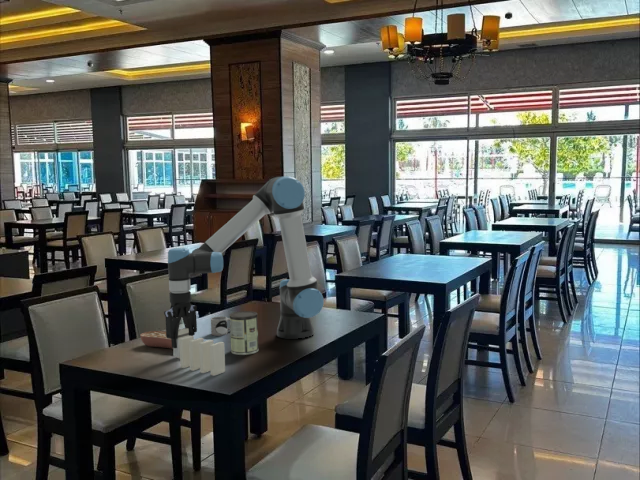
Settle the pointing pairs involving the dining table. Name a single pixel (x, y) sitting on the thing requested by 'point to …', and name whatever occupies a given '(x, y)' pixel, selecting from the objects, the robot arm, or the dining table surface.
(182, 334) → the domino
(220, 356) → the domino
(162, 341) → the brown low oblong piece
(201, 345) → the domino
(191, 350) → the domino
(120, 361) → the dining table surface
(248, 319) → the coffee can
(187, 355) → the domino
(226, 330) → the mug
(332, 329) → the dining table surface
